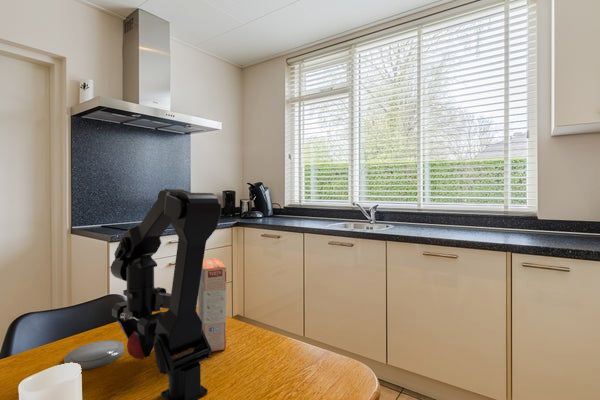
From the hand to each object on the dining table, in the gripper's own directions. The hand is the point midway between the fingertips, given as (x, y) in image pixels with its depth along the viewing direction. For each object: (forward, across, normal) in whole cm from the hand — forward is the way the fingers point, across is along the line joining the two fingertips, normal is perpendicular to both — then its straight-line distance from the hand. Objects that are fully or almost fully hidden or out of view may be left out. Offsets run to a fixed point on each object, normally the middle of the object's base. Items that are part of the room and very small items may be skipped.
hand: (141, 352), depth 74 cm
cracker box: (+2, -3, -17) cm, 17 cm away
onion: (+2, 0, 0) cm, 2 cm away
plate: (+2, +11, +6) cm, 13 cm away
